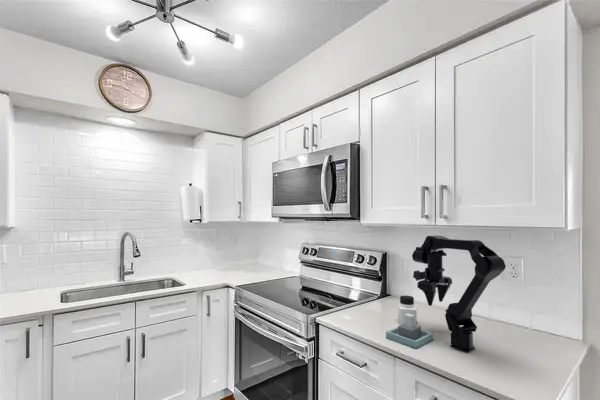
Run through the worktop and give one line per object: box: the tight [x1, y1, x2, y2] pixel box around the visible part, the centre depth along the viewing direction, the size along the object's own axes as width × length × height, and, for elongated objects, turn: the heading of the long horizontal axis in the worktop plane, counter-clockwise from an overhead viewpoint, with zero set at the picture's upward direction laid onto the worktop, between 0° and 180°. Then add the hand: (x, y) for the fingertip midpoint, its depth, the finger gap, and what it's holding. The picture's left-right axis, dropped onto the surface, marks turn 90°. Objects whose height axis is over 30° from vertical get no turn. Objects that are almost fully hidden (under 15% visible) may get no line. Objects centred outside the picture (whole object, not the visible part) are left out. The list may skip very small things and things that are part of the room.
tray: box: [385, 326, 434, 350], centre depth 122 cm, size 13×13×2 cm
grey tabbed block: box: [397, 313, 422, 341], centre depth 122 cm, size 6×7×9 cm
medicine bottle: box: [397, 294, 417, 325], centre depth 141 cm, size 7×7×12 cm
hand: (435, 303), depth 126 cm, fingers open, 9 cm apart
